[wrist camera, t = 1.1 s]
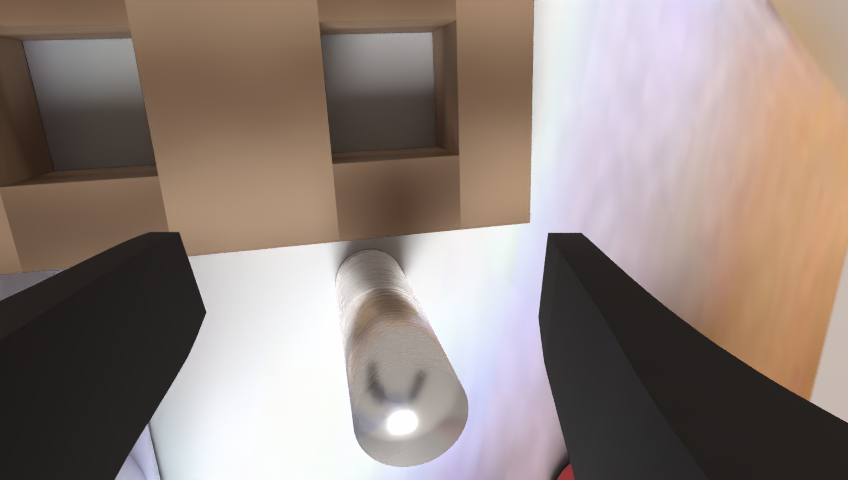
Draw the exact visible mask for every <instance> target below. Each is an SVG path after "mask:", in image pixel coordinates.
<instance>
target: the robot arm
mask: <svg viewBox="0 0 848 480" xmlns="http://www.w3.org/2000/svg"><path fill="white" fill-rule="evenodd" d="M205 314H206V310H205V307H204V304H203V301H202V298H201V295H200V292H199V289H198V286H197V283H196V280H195V277H194V274H193V271H192V268H191V265H190V262H189V259H188V257H187V254H186V251H185V248H184V245H183V242H182V239H181V236H180V233H179V232H148V233H145V234H142V235H140V236H137V237H134V238H132V239H130V240H127V241H125V242H123V243H120V244H118V245H116V246H114V247H112V248H110V249H107V250H105V251H103V252H101V253H99V254H97V255H95V256H93V257H91V258H89V259H87V260H85V261H83V262H81V263H79V264H77V265H75V266H72V267H70V268H68V269H66V270H64V271H62V272H60V273H58V274H56V275H54V276H52V277H50V278H48V279H46V280H44V281H42V282H40V283H38V284H36V285H34V286H32V287H29V288H27V289H25V290H23V291H21V292H19V293H16V294H14V295H12V296H10V297H8V298H6V299H3V300H1V301H0V480H161V479H160V475H159V471H158V466H157V462H156V458H155V454H154V449H153V445H152V441H151V436H150V432H149V428H148V422H149V421H150V419H151V417H152V416H153V414H154V412H155V411H156V409H157V408H158V406H159V404H160V403H161V401H162V399H163V398H164V396H165V394H166V393H167V391H168V389H169V388H170V386H171V384H172V383H173V381H174V379H175V378H176V376H177V374H178V373H179V371H180V369H181V368H182V366H183V364H184V362H185V361H186V359H187V357H188V355H189V353H190V351H191V349H192V346H193V344H194V342H195V340H196V337H197V335H198V332H199V330H200V327H201V325H202V322H203V320H204V317H205ZM539 325H540V333H541V342H542V349H543V356H544V363H545V367H546V371H547V375H548V379H549V383H550V387H551V391H552V395H553V398H554V402H555V406H556V410H557V414H558V417H559V421H560V425H561V429H562V433H563V436H564V440H565V444H566V448H567V452H568V455H569V459H570V463H571V467H572V471H573V475H574V480H848V423H847V422H845V421H843V420H841V419H840V418H838V417H836V416H834V415H832V414H831V413H829V412H827V411H825V410H823V409H822V408H820V407H818V406H816V405H815V404H813V403H811V402H809V401H807V400H806V399H804V398H802V397H800V396H798V395H797V394H795V393H793V392H791V391H789V390H788V389H786V388H784V387H783V386H781V385H779V384H778V383H776V382H774V381H773V380H771V379H769V378H768V377H766V376H764V375H763V374H761V373H759V372H758V371H756V370H755V369H753V368H752V367H750V366H749V365H747V364H746V363H744V362H743V361H741V360H739V359H738V358H736V357H735V356H733V355H732V354H730V353H729V352H727V351H726V350H724V349H723V348H721V347H719V346H718V345H717V344H715V343H714V342H712V341H711V340H709V339H708V338H707V337H705V336H704V335H702V334H701V333H700V332H698V331H697V330H696V329H694V328H693V327H692V326H690V325H689V324H688V323H686V322H685V321H684V320H682V319H681V318H680V317H678V316H677V315H676V314H674V313H673V312H672V311H670V310H669V309H668V308H667V307H665V306H664V305H663V304H662V303H660V302H659V301H658V300H657V299H656V298H654V297H653V296H652V295H651V294H650V293H648V292H647V291H646V290H645V289H644V288H642V287H641V286H640V285H639V284H638V283H637V282H635V281H634V280H633V279H632V278H631V277H630V276H629V275H627V274H626V273H625V272H624V271H623V270H622V269H621V268H620V267H618V266H617V265H616V264H615V263H614V262H613V261H612V260H611V259H610V258H609V257H607V256H606V255H605V254H604V253H603V252H602V251H601V250H600V249H599V248H598V247H597V246H595V245H594V244H593V243H592V242H591V241H590V240H589V239H588V238H587V237H585V236H584V235H583V234H582V233H548V238H547V247H546V256H545V265H544V273H543V282H542V291H541V300H540V308H539Z"/></svg>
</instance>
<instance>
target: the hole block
mask: <svg viewBox="0 0 848 480" xmlns="http://www.w3.org/2000/svg"><path fill="white" fill-rule="evenodd" d="M533 25H534V0H0V275H4V274H14V273H24V272H34V271H44V270H55V269H65V268H70V267H72V266H75V265H77V264H79V263H81V262H83V261H85V260H87V259H89V258H91V257H93V256H95V255H97V254H99V253H101V252H103V251H105V250H107V249H110V248H112V247H114V246H116V245H118V244H120V243H123V242H125V241H127V240H130V239H132V238H134V237H137V236H140V235H142V234H145V233H148V232H179V233H180V236H181V239H182V242H183V245H184V248H185V251H186V254H187V256H197V255H207V254H217V253H227V252H237V251H247V250H258V249H268V248H278V247H288V246H298V245H308V244H318V243H329V242H339V241H349V240H359V239H369V238H379V237H390V236H400V235H410V234H420V233H430V232H440V231H450V230H461V229H471V228H481V227H491V226H501V225H511V224H521V223H530V186H531V133H532V79H533ZM421 32H433V60H434V89H435V118H436V146H435V147H420V148H404V149H389V150H374V151H358V152H343V153H331V145H330V134H329V123H328V113H327V102H326V91H325V81H324V70H323V59H322V48H321V38H320V35H322V34H371V33H421ZM124 38H132V41H133V46H134V51H135V56H136V62H137V67H138V72H139V77H140V82H141V88H142V93H143V98H144V103H145V108H146V114H147V119H148V124H149V129H150V134H151V140H152V145H153V150H154V155H155V160H156V165H143V166H127V167H112V168H97V169H81V170H66V171H54V168H53V164H52V160H51V156H50V152H49V148H48V144H47V140H46V136H45V132H44V128H43V124H42V120H41V116H40V112H39V108H38V104H37V100H36V96H35V92H34V89H33V85H32V81H31V77H30V73H29V69H28V65H27V61H26V57H25V53H24V49H23V45H22V41H25V40H74V39H124Z"/></svg>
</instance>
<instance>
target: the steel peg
mask: <svg viewBox="0 0 848 480" xmlns="http://www.w3.org/2000/svg"><path fill="white" fill-rule="evenodd" d="M336 292H337V300H338V308H339V316H340V324H341V332H342V340H343V347H344V355H345V363H346V371H347V379H348V387H349V395H350V402H351V410H352V418H353V426H354V432H355V436H356V439H357V441H358V443H359V445H360V446H361V448H362V449H363V450H364V451H365V452H366V453H367V454H368V455H369V456H370V457H372V458H373V459H375V460H377V461H379V462H381V463H383V464H386V465H391V466H397V467H409V466H416V465H420V464H423V463H426V462H429V461H431V460H433V459H435V458H437V457H439V456H440V455H442V454H443V453H444V452H446V451H447V450H448V449H449V448H450V447H451V446H452V445H453V444H454V443H455V442H456V441H457V439H458V438H459V436H460V435H461V433H462V431H463V429H464V427H465V424H466V421H467V417H468V400H467V396H466V394H465V391H464V389H463V387H462V385H461V383H460V381H459V379H458V377H457V375H456V373H455V372H454V370H453V368H452V366H451V364H450V362H449V360H448V358H447V356H446V354H445V352H444V350H443V348H442V347H441V345H440V343H439V341H438V339H437V337H436V335H435V333H434V331H433V329H432V327H431V325H430V323H429V321H428V320H427V318H426V316H425V314H424V312H423V310H422V308H421V306H420V304H419V302H418V300H417V298H416V296H415V295H414V293H413V291H412V289H411V287H410V285H409V283H408V281H407V279H406V277H405V275H404V273H403V271H402V270H401V268H400V266H399V264H398V263H397V261H396V260H395V259H394V258H393V257H392V256H390V255H389V254H387V253H385V252H382V251H379V250H363V251H359V252H357V253H354V254H353V255H351V256H350V257H348V258H347V259H346V260H345V261H344V262H343V263H342V265H341V266H340V268H339V270H338V272H337V276H336Z"/></svg>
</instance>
